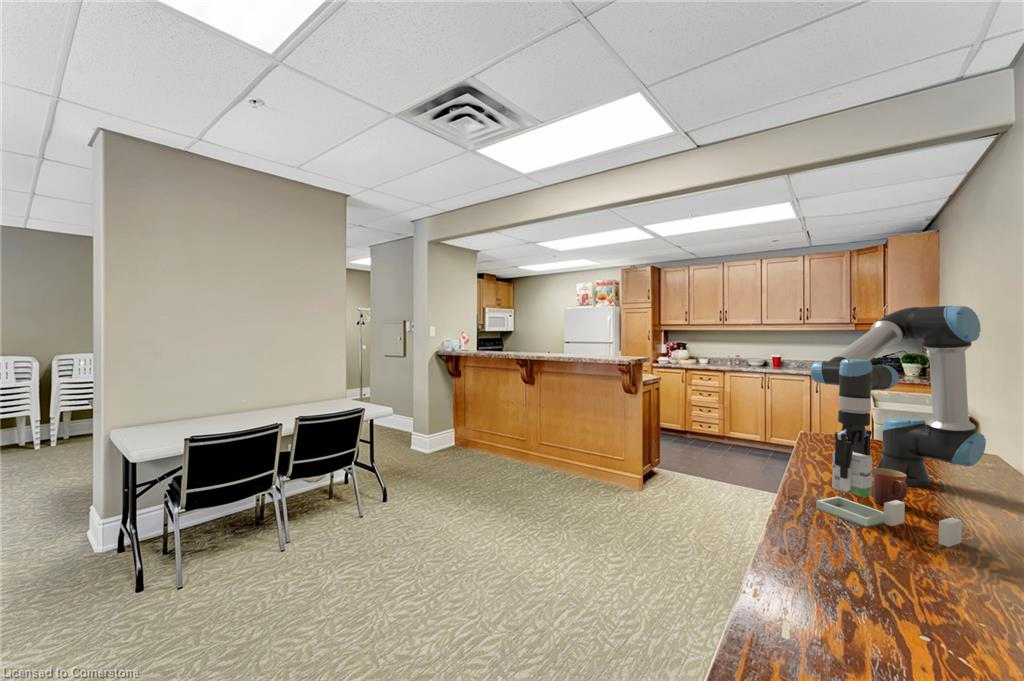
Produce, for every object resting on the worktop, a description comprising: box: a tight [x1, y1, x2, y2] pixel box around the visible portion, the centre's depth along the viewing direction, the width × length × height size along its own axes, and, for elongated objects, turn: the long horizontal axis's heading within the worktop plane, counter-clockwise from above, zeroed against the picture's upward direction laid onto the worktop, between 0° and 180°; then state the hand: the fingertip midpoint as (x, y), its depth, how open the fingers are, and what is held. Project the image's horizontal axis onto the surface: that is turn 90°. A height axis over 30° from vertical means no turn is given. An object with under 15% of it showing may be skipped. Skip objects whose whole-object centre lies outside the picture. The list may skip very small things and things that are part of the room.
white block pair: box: [883, 500, 963, 548], centre depth 119 cm, size 6×14×6 cm, turn 22°
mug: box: [872, 467, 908, 506], centre depth 137 cm, size 12×9×10 cm
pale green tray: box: [815, 495, 885, 529], centre depth 130 cm, size 10×14×3 cm
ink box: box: [831, 450, 873, 498], centre depth 130 cm, size 9×5×12 cm, turn 26°
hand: (851, 487), depth 130 cm, fingers closed on ink box, 5 cm apart
